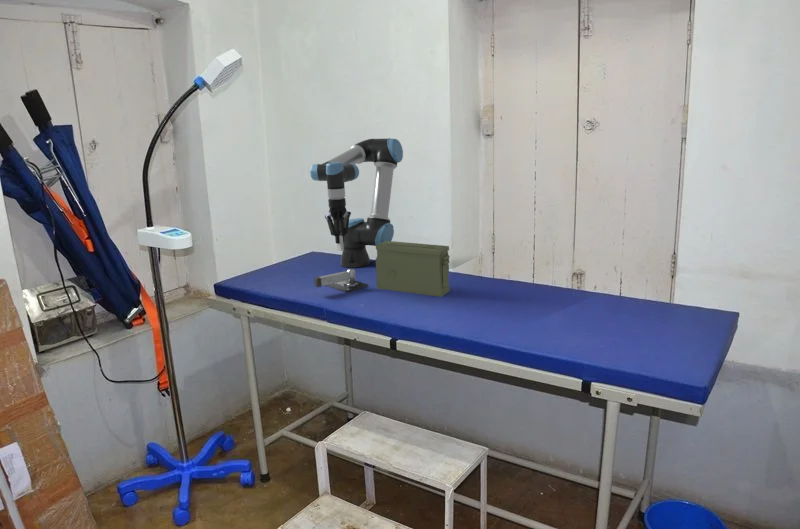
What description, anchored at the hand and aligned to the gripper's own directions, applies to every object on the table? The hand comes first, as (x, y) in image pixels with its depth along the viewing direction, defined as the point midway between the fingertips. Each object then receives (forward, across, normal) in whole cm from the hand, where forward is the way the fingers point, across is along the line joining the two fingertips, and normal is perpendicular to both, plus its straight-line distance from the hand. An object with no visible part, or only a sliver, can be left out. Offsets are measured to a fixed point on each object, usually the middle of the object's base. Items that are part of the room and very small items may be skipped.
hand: (340, 250), depth 269 cm
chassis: (+16, 0, -1) cm, 16 cm away
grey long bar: (+14, +8, +6) cm, 17 cm away
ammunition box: (+17, -16, +30) cm, 38 cm away
